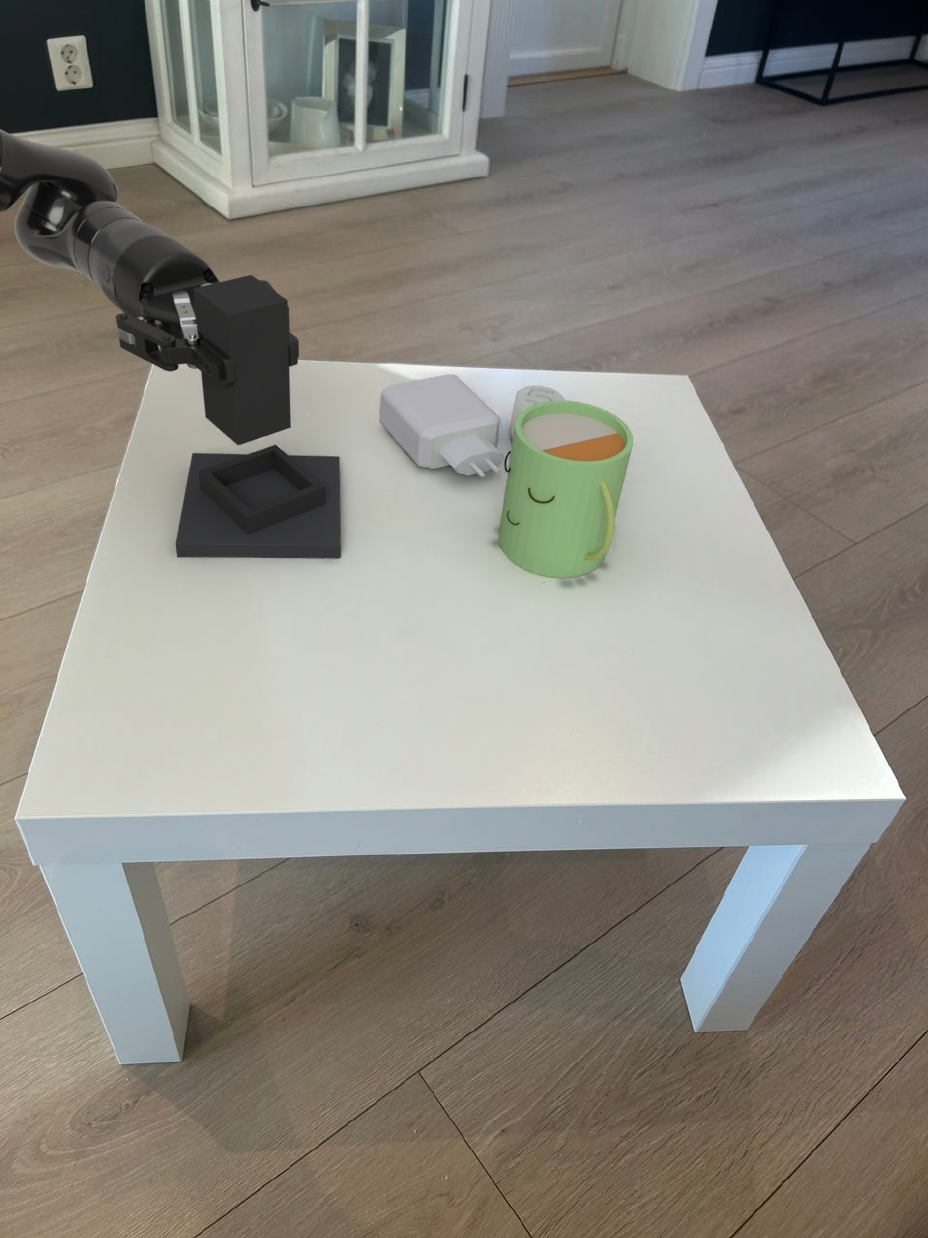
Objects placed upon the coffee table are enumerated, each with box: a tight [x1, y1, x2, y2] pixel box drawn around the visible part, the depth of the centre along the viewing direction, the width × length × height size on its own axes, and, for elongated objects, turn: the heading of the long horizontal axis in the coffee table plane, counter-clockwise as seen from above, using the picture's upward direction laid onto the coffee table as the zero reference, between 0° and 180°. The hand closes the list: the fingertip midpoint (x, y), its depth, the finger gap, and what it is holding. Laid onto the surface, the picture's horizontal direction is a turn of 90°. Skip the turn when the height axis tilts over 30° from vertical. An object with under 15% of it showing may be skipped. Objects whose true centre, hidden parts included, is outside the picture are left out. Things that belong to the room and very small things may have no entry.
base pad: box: [175, 444, 342, 559], centre depth 88 cm, size 14×14×4 cm
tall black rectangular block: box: [193, 274, 292, 446], centre depth 75 cm, size 5×5×11 cm
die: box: [508, 385, 566, 441], centre depth 101 cm, size 5×5×5 cm
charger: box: [379, 373, 505, 478], centre depth 97 cm, size 5×9×15 cm
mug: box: [498, 400, 634, 579], centre depth 85 cm, size 13×10×12 cm
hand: (261, 363), depth 73 cm, fingers closed on tall black rectangular block, 5 cm apart
